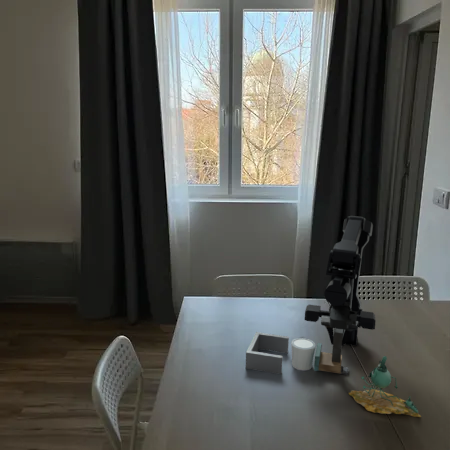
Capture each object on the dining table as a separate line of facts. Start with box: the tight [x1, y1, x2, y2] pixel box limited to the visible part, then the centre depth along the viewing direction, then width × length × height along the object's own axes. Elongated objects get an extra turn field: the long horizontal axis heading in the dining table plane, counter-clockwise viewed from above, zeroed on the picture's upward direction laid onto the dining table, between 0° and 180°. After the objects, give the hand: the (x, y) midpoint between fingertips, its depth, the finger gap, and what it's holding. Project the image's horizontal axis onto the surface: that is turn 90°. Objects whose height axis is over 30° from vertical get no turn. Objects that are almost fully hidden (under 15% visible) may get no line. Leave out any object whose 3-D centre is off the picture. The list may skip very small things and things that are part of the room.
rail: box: [341, 365, 349, 376], centre depth 132 cm, size 9×2×1 cm, turn 74°
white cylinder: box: [290, 337, 316, 371], centre depth 134 cm, size 7×7×7 cm
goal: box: [245, 331, 290, 375], centre depth 137 cm, size 10×13×5 cm
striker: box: [313, 328, 343, 375], centre depth 131 cm, size 7×8×11 cm
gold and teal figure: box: [348, 355, 422, 418], centre depth 115 cm, size 10×18×15 cm, turn 48°
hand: (337, 344), depth 130 cm, fingers closed on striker, 2 cm apart
